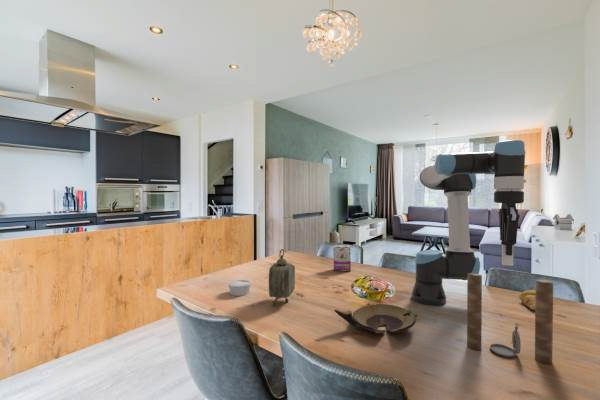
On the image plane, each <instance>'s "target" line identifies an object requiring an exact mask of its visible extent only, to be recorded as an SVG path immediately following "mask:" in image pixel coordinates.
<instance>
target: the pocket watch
mask: <svg viewBox="0 0 600 400" xmlns="http://www.w3.org/2000/svg"><path fill="white" fill-rule="evenodd" d="M518 329H519V323H515V326H514V330H512V335H511V336H512V339H511V340H512V347H513V348H512V347H510V346H507V345H505V344H501V343H491V344H490V345H489V349H490V350H491V351H492V352H493V353H494V354H497V355H499V356H502V357H505V358H513V357H515V356H516V355H517V354H518V355H519V354H520V353H521V348H522V347H521V336H520V332H519V331H518Z"/></svg>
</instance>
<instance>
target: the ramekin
mask: <svg viewBox="0 0 600 400" xmlns="http://www.w3.org/2000/svg"><path fill="white" fill-rule="evenodd" d="M251 286H252V282H251V281H250V280H246V279H237V280H232V281H230V282H229V283H228V288H229V293H230V294H231V296H234V297H242V296H246V295H248V294H249V293H250V289H251Z"/></svg>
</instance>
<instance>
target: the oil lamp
mask: <svg viewBox="0 0 600 400" xmlns="http://www.w3.org/2000/svg"><path fill="white" fill-rule="evenodd" d="M334 312H335V313H336V314H337V315H338V316H339V317H340V318H342V319H343V320H344V321H346V322H347V323H348V324H349V325H351V326H352V327H360V328H363V329H364V330H366V331H367V330H368V331H371V332H374V333H379V334H385V333H386V332H388V333H389V334H390V333H391V334H395V333H396V334H397V333H401V332H404V331H407V330H409V329H411V328H412V327H413V326H414V325H415V324H416V321H417V317H418V314H415V313H414V312H413V311H412V310H410V309H406V308H404V307H401V306H398V305H392V304H386V303H385V304H384V303H376V304H368V305H364V306H361V307H359V308H357V309H355V311H353V312H352V310H351V309H349V310H345V311H342V310H339V309H334ZM385 326H386V327H385ZM379 327H385V329H386V330H385V329H378V328H379Z"/></svg>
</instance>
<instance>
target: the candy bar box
mask: <svg viewBox="0 0 600 400" xmlns="http://www.w3.org/2000/svg"><path fill="white" fill-rule="evenodd" d="M351 265H352V263H351V245H333V271H334V270H352V269H351V268H352V267H351Z"/></svg>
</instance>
